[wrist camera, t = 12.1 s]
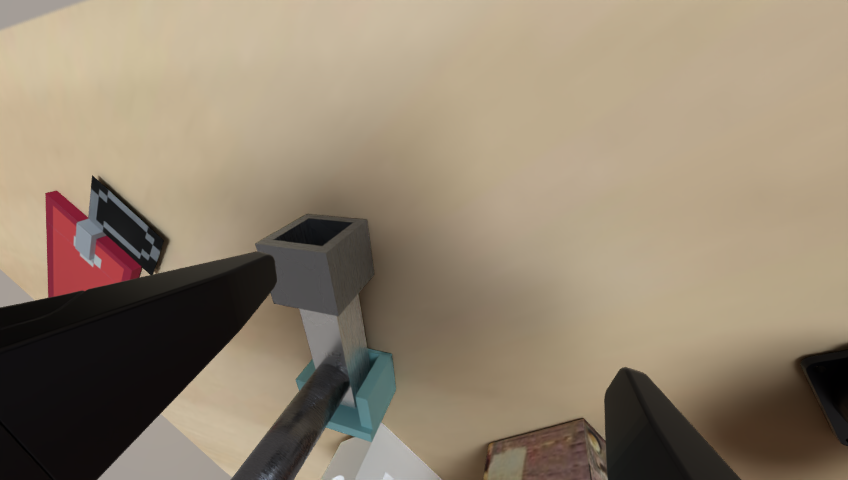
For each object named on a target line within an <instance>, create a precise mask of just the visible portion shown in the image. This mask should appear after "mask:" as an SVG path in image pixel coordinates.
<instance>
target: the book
mask: <svg viewBox="0 0 848 480" xmlns="http://www.w3.org/2000/svg"><path fill="white" fill-rule="evenodd" d="M483 480H608V478H607V466H606V441H605V440H604V439H603V438H602V437H601V436H600V435H599V434H598V433H597V432H596V431H595V430H594V429H593V428H592V427H591V426H590V425H589V423H588V422H587V421H586V420H585V419H581V420H577V421H573V422H569V423H565V424H562V425H558V426H554V427H550V428H546V429H543V430H539V431H535V432H531V433H528V434H524V435H520V436H516V437H512V438H509V439H505V440H501V441H497V442H493V443H490V444H489V445H488V450H487V457H486V464H485V471H484V478H483Z"/></svg>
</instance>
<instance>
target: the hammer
mask: <svg viewBox="0 0 848 480" xmlns="http://www.w3.org/2000/svg"><path fill="white" fill-rule="evenodd" d="M299 310H300V314H301V317H302V321H303V325H304V328H305V332H306V336H307V339H308V343H309V347H310V350H311V354H312V358H313V362H314V365H315V369H316V370H315V371H314V372H313V374H312V375H311V376H310V378H309V379H308V380H307V382H306V383H305V384H304V385H303V387H302V388H301V389H300V391H299V392H298V393H297V395H296V396H295V397H294V398H293V400H292V401H291V402H290V404H289V405H288V406H287V407H286V409H285V410H284V411H283V413H282V414H281V415H280V417H279V418H278V419H277V420H276V422H275V423H274V424H273V426H272V427H271V428H270V430H269V431H268V432H267V433H266V435H265V436H264V437H263V439H262V440H261V441H260V443H259V444H258V445H257V446H256V448H255V449H254V450H253V452H252V453H251V454H250V455H249V457H248V458H247V459H246V461H245V462H244V463H243V465H242V466H241V467H240V468H239V470H238V471H237V472H236V474H235V475H234V476H233V478H232V479H231V480H294V478H295V477H296V475H297V473H298V472H299V470H300V469H301V467H302V465H303V464H304V462H305V460H306V459H307V457H308V456H309V454H310V452H311V451H312V449H313V447H314V446H315V444H316V442H317V441H318V439H319V438H320V436H321V434H322V433H323V431H324V429H325V428H326V426H327V425H328V423H329V421H330V420H331V418H332V416H333V415H334V413H335V412H336V410H337V408H338V407H339V405H340V404H341V405H344V406H348V407H351V408H355V409H356V407H357V402H356V397H355V396H356V394H357V393H358V391H359V389H360V388H361V386H362V384H363V382H364V381H365V379H366V377H367V376H368V374H369V372H370V370H371V368H370V362H369V356H368V349H367V343H366V337H365V331H364V325H363V319H362V313H361V306H360V300H359V294H357V295H356V297H355V298H354V299H353V300H352V301H351V303H350V304H349V305H348V306H347V307H346V308H345V310H344V311H343V312H342V313H341V314H340V316H334V315H329V314H324V313H319V312H314V311H309V310H304V309H299Z"/></svg>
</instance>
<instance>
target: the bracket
mask: <svg viewBox="0 0 848 480" xmlns="http://www.w3.org/2000/svg"><path fill="white" fill-rule="evenodd" d="M321 480H442V479H441V478H440V477H439V476H438V475H437V474H436V473H435V472H434V471H433V470H432V469H430V468H429V467H428V466H427V465H426V464H425V463H424V462H423V461H422V460H421V459H420V458H419V457H418V456H417V455H416V454H415V453H414V452H412V451H411V450H410V449H409V448H408V447H407V446H406V445H405V444H404V443H403V442H402V441H401V440H400V439H399V438H398V437H397V436H396V435H395V434H393V433H392V432H391V431H390V430H389V429H388V428H387V427H386V426H385V425H384V424H383V423H382V422H381V423H380V426H379V428H378V430H377V432H376V434H375V436H374V439H373V441H372V442H369V441H366V440H363V439H360V438H357V437H354V438H351V439H348V440H346V441H343V442H341V443H340V445H339V447H338V449H337V451H336V453H335V454H334V456H333V458H332V460H331V462H330V464H329V465H328V467H327V469H326V471H325V473H324V475H323V476H322V478H321Z"/></svg>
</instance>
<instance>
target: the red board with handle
mask: <svg viewBox="0 0 848 480" xmlns="http://www.w3.org/2000/svg"><path fill="white" fill-rule="evenodd" d="M46 229H47V265H48V298H50V297H54V296H59V295H64V294H68V293H73V292H77V291H82V290H84V291H86V290H87V289H91V288H95V287H100V286H104V285H109V284H113V283H118V282H122V281H127V280H131V279H136V278H139V275H140V271H141V268H143V269H145V270H146V271H147V272H148V273H149V274H150V275H153V273H154V269H155V266H156V263H157V260H158V257H159V254H160V251H161V248H162V245H163V242H164V240H162V239H161V238H160V237H159V236H158V235H157V234H156V233H155V232H154V231H153V230H152V229H150V228H149V227H148V226H147V225H146V224H145V223H144V222H143V221H142V220H141V219H140V218H138V217H137V216H136V215H135V214H134V213H133V212H132V211H131V210H130V209H129V208H128V207H126V206H125V205H124V204H123V203H122V202H121V201H120V200H119V199H118V198H117V197H115V196H114V195H113V194H112V193H111V192H110V191H109V190H108V189H107V188H106V187H105V186H103V185H102V184H101V183H100V182H99V181H98V180H97V179H96V178H95V177H94V176H93V175H92V183H91V194H90V205H89V216H88V217H87V216H86V215H84V214H83V213H82V212H81V211H80V210H79V209H77V208H76V207H75V206H74V205H73V204H72V203H71V202H69V201H68V200H67V199H66V198H65V197H64V196H62V195H61V194H60V193H59V192H58V191H53V192H48V193H46Z"/></svg>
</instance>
